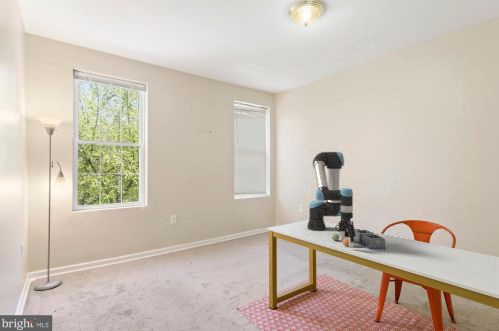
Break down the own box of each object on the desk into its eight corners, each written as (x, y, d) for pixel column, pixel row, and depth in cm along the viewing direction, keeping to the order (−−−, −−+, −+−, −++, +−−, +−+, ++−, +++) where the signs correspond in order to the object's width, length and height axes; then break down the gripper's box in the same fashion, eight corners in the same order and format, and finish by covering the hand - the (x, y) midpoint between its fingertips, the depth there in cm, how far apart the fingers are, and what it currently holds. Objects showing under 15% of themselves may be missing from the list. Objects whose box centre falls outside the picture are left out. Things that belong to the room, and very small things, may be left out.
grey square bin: (352, 238, 183) (352, 230, 183) (366, 238, 184) (366, 229, 184) (359, 243, 173) (359, 233, 173) (373, 243, 174) (373, 233, 174)
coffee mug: (348, 234, 196) (348, 221, 196) (351, 237, 187) (351, 223, 187) (333, 233, 197) (333, 221, 197) (335, 237, 189) (335, 223, 188)
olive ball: (330, 239, 182) (330, 232, 182) (337, 239, 182) (337, 232, 182) (333, 241, 177) (333, 234, 177) (340, 241, 177) (340, 234, 177)
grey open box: (362, 244, 172) (362, 234, 171) (376, 243, 172) (376, 234, 172) (370, 249, 161) (370, 239, 161) (385, 248, 162) (385, 238, 162)
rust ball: (341, 244, 170) (341, 237, 170) (348, 244, 171) (348, 237, 171) (344, 247, 165) (344, 239, 165) (352, 247, 166) (352, 239, 166)
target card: (345, 240, 180) (345, 239, 180) (353, 240, 180) (353, 238, 180) (355, 247, 164) (355, 246, 164) (364, 247, 164) (364, 246, 164)
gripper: (333, 208, 180) (334, 238, 180) (349, 215, 155) (349, 250, 155) (344, 208, 180) (344, 238, 180) (361, 215, 156) (361, 249, 155)
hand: (346, 243), depth 168 cm, fingers open, 13 cm apart
